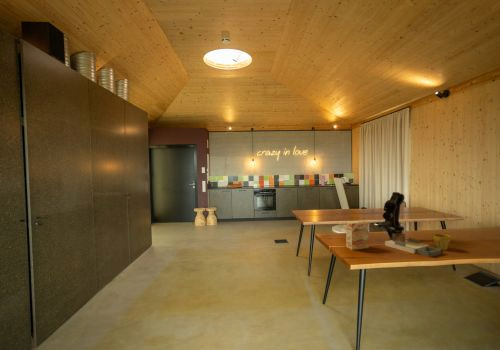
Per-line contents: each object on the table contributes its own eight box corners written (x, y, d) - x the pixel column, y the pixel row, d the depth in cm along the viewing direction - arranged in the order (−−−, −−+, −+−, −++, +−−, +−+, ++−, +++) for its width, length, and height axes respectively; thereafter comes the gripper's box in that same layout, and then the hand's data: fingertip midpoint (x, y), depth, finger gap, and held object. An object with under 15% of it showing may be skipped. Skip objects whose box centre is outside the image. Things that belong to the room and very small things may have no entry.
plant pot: (442, 251, 183) (442, 237, 183) (429, 247, 193) (429, 234, 193) (454, 250, 185) (454, 236, 185) (440, 246, 195) (440, 233, 195)
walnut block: (392, 241, 200) (392, 233, 200) (397, 240, 202) (397, 232, 202) (400, 243, 194) (400, 235, 194) (405, 241, 197) (405, 234, 197)
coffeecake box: (352, 250, 188) (351, 223, 188) (345, 247, 195) (345, 221, 195) (369, 248, 192) (369, 222, 192) (362, 245, 199) (362, 220, 199)
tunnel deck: (385, 245, 199) (385, 238, 199) (399, 242, 207) (399, 235, 207) (428, 257, 171) (428, 249, 171) (443, 253, 179) (443, 245, 179)
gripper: (373, 217, 209) (373, 236, 209) (395, 220, 192) (395, 241, 192) (382, 215, 214) (382, 234, 214) (404, 219, 197) (404, 239, 197)
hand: (390, 237), depth 204 cm, fingers closed
